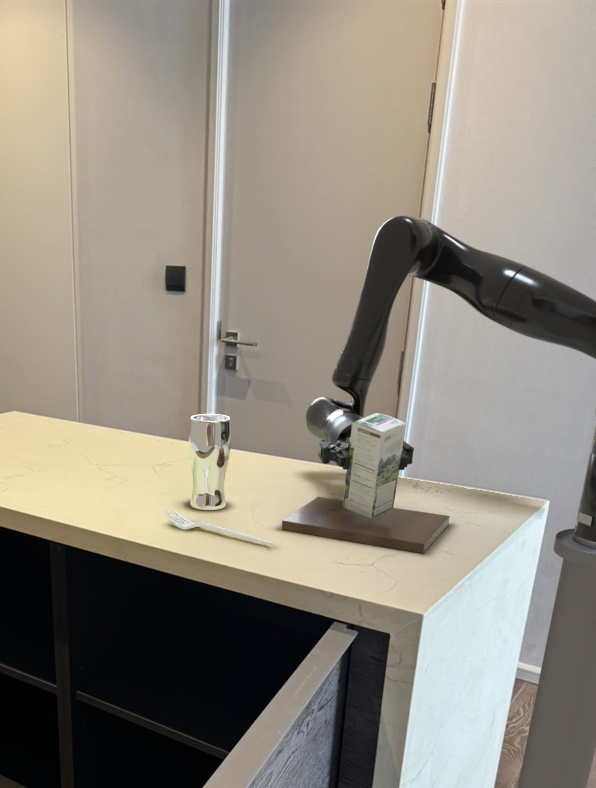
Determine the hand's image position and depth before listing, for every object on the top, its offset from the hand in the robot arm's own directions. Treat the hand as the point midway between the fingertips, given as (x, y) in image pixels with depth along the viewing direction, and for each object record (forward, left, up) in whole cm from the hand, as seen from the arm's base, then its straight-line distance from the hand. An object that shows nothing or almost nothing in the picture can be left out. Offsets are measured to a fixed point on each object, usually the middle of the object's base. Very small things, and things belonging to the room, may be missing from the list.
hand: (375, 463), depth 131 cm
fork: (+20, +14, -11) cm, 26 cm away
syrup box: (+1, -2, -8) cm, 8 cm away
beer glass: (+28, 0, -11) cm, 30 cm away
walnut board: (+1, -2, -11) cm, 11 cm away
